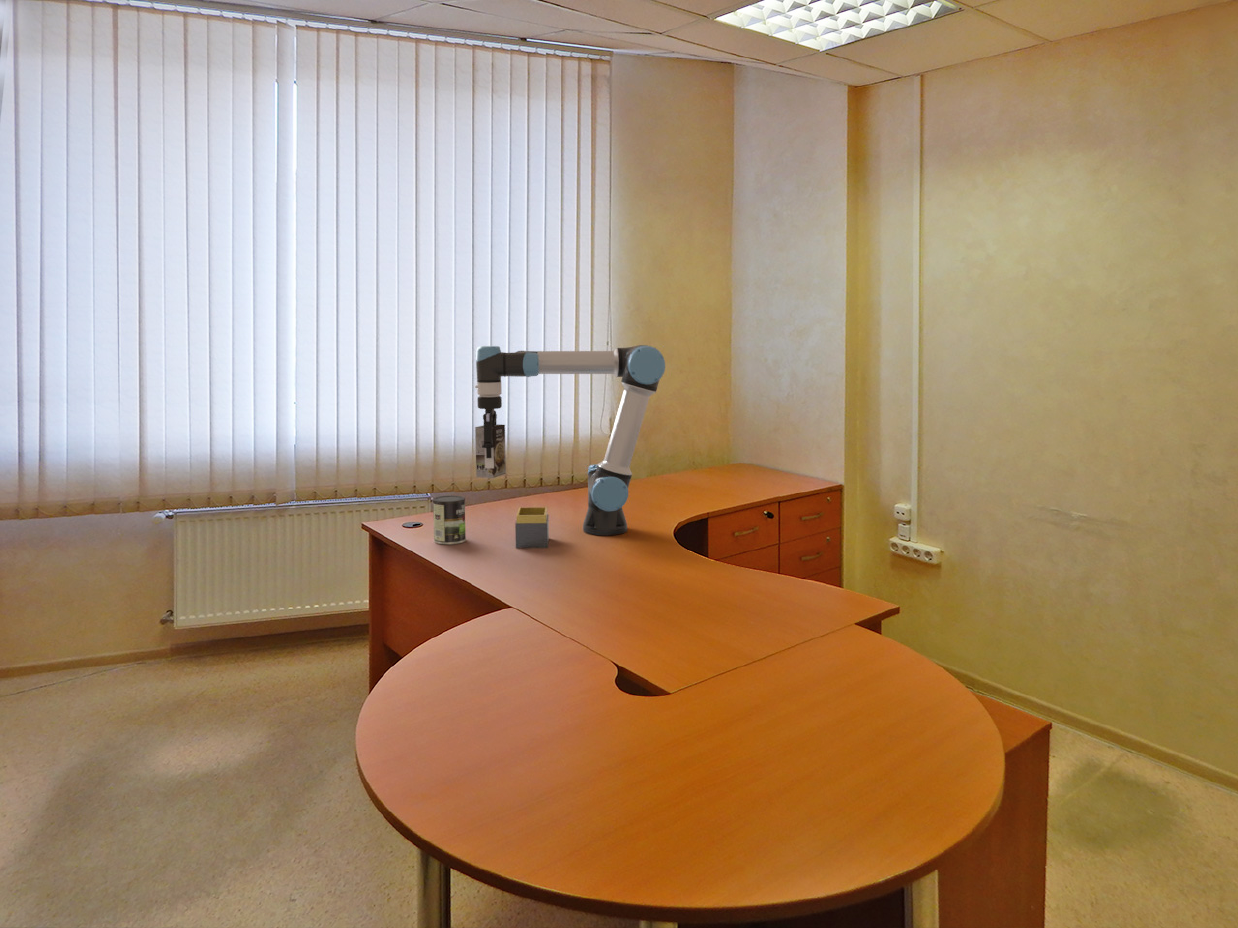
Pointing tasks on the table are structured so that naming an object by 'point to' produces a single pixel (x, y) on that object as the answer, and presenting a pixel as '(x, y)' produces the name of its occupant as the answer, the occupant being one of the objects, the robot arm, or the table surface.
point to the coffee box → (498, 452)
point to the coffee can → (449, 519)
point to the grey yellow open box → (532, 527)
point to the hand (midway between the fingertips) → (491, 465)
